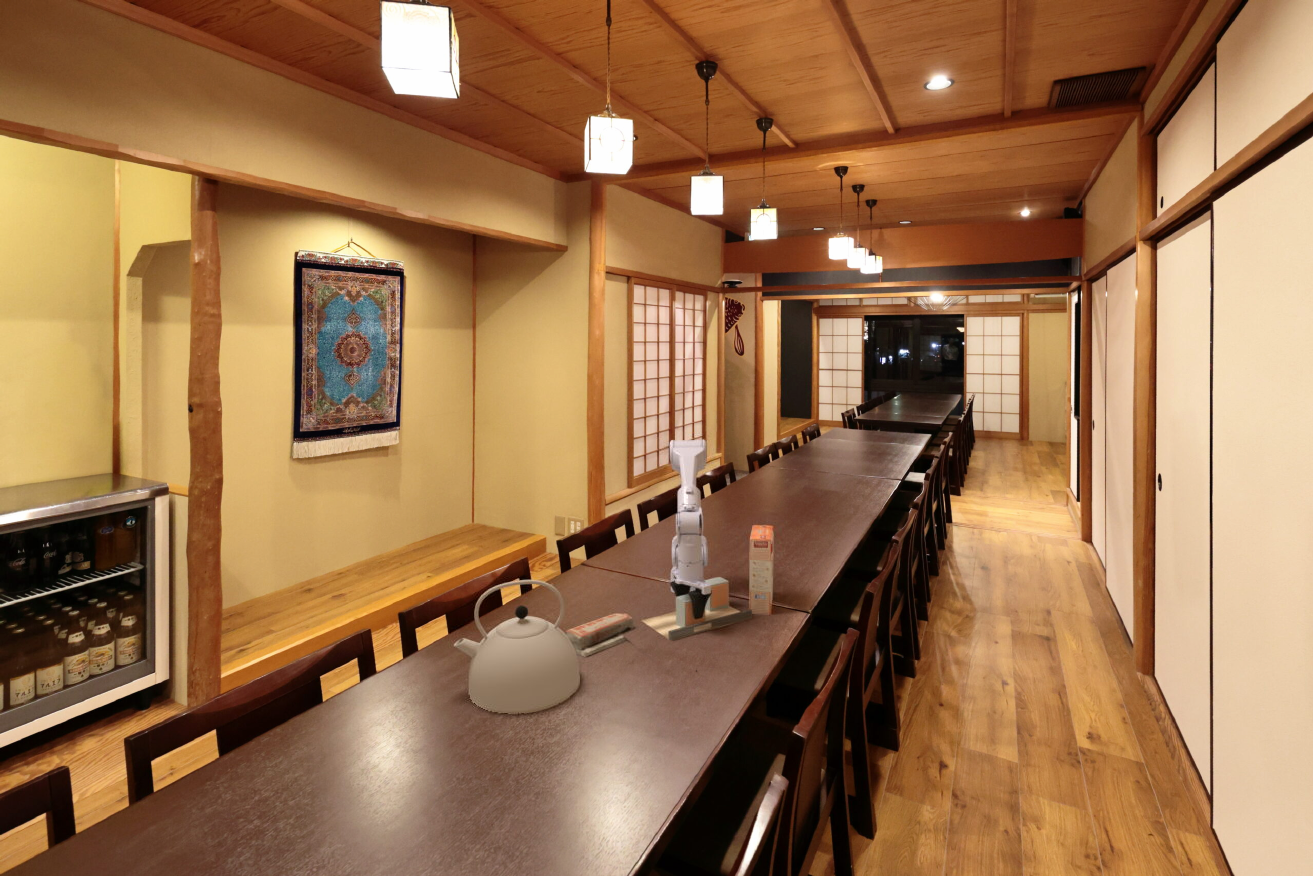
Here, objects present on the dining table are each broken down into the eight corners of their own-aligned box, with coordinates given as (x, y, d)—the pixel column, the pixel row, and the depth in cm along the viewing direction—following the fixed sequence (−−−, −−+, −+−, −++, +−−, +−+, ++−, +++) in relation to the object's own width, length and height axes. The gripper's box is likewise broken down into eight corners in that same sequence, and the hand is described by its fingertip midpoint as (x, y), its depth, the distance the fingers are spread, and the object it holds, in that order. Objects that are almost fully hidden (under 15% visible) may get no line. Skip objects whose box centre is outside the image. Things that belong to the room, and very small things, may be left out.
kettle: (454, 724, 125) (447, 608, 122) (458, 669, 147) (452, 570, 144) (587, 704, 131) (583, 593, 128) (572, 654, 153) (568, 558, 150)
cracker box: (772, 619, 170) (772, 539, 167) (748, 618, 171) (748, 538, 169) (774, 599, 184) (774, 524, 181) (751, 597, 185) (751, 523, 182)
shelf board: (641, 625, 168) (640, 612, 168) (719, 604, 180) (719, 593, 180) (670, 645, 156) (670, 632, 156) (752, 622, 168) (752, 610, 168)
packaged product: (584, 639, 150) (557, 627, 158) (584, 660, 151) (558, 646, 158) (643, 616, 163) (616, 605, 170) (643, 635, 163) (617, 624, 171)
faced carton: (701, 606, 176) (700, 581, 175) (719, 602, 179) (719, 576, 178) (710, 612, 172) (710, 585, 172) (729, 607, 176) (729, 581, 175)
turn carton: (676, 624, 165) (675, 597, 164) (696, 619, 168) (695, 592, 167) (685, 630, 162) (685, 602, 161) (706, 624, 165) (705, 597, 164)
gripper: (660, 555, 167) (661, 607, 169) (692, 571, 155) (693, 627, 156) (684, 550, 171) (685, 601, 172) (717, 565, 158) (718, 620, 160)
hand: (690, 613), depth 165 cm, fingers open, 6 cm apart
